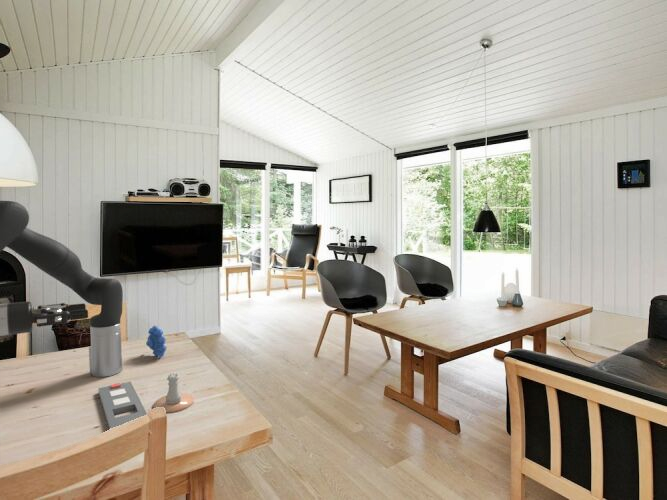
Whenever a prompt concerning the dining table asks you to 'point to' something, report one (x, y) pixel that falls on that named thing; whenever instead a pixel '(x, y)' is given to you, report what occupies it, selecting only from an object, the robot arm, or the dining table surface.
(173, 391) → the rook chess piece
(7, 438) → the dining table surface
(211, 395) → the dining table surface
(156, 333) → the grapes
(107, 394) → the power strip
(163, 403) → the peach dome
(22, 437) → the dining table surface
